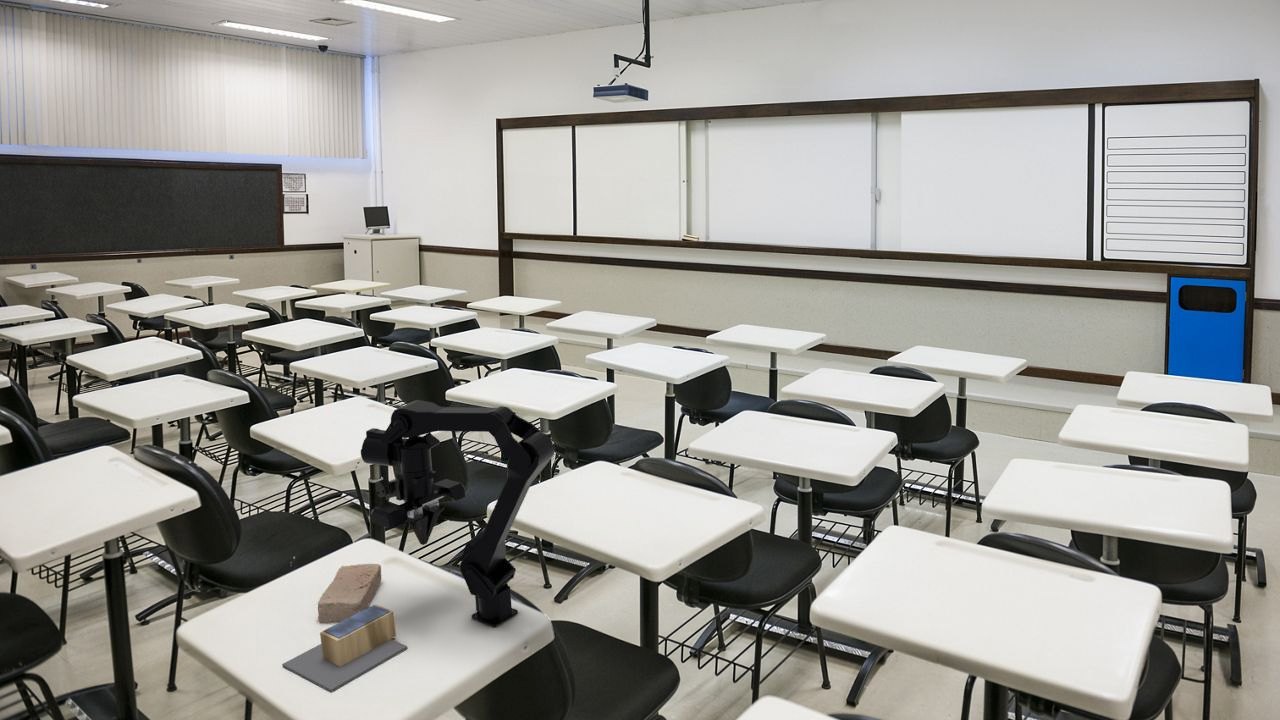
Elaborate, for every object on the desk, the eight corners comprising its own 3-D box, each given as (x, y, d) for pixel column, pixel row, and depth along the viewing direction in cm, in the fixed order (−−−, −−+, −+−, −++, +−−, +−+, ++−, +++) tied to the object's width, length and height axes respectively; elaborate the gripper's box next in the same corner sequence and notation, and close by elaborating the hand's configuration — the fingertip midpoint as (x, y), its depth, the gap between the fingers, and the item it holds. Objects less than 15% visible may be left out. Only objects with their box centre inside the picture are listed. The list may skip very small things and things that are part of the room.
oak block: (393, 610, 165) (337, 639, 156) (396, 636, 167) (340, 666, 157) (375, 603, 168) (319, 631, 159) (378, 628, 170) (323, 658, 160)
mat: (407, 648, 163) (407, 646, 163) (331, 692, 151) (331, 689, 151) (358, 626, 171) (358, 624, 171) (282, 666, 159) (282, 664, 159)
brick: (361, 623, 173) (358, 600, 172) (317, 624, 173) (314, 602, 172) (383, 583, 189) (381, 562, 188) (343, 584, 189) (341, 563, 188)
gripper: (425, 446, 184) (432, 518, 188) (348, 474, 169) (357, 552, 173) (464, 456, 178) (470, 530, 181) (387, 486, 163) (395, 566, 167)
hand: (423, 543), depth 176 cm, fingers closed
